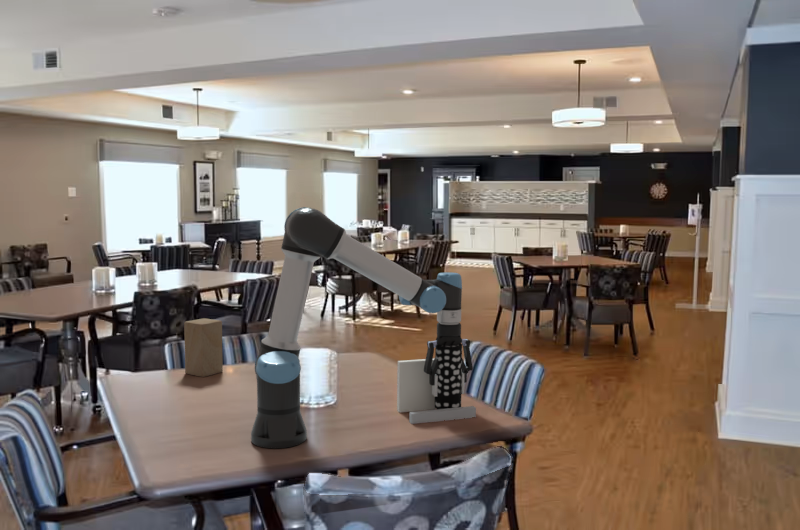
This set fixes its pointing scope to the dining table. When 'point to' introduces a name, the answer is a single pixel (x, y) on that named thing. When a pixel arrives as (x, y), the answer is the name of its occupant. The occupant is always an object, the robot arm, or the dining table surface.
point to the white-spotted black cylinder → (449, 376)
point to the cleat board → (422, 395)
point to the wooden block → (203, 347)
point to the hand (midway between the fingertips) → (448, 393)
